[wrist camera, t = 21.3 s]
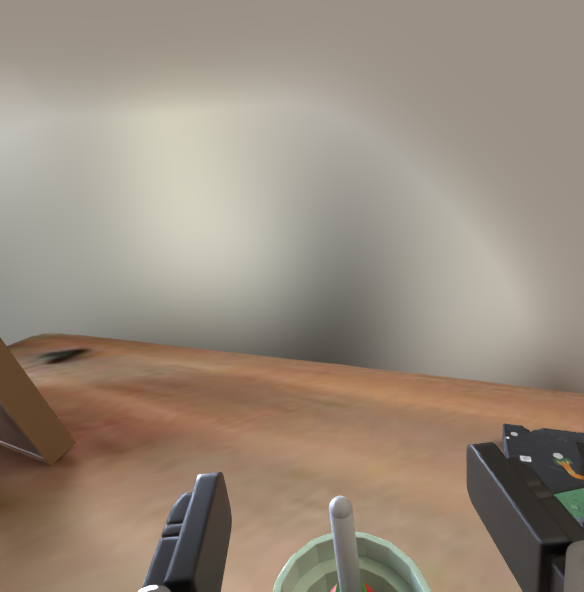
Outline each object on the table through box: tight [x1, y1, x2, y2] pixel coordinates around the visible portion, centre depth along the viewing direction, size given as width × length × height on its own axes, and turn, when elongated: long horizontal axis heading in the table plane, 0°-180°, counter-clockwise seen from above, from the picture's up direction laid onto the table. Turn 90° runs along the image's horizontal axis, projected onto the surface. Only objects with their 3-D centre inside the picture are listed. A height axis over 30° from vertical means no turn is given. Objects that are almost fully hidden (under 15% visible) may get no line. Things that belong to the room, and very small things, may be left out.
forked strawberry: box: [329, 496, 374, 592], centre depth 28 cm, size 5×5×14 cm
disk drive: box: [502, 424, 584, 528], centre depth 41 cm, size 10×3×15 cm
